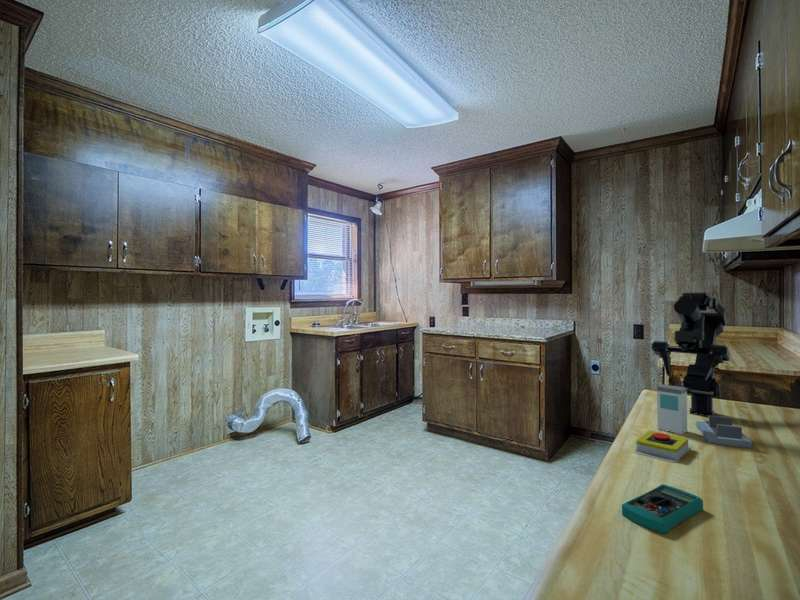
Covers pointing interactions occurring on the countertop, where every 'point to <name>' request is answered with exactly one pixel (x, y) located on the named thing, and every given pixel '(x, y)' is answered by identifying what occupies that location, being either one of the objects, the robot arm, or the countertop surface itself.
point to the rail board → (713, 439)
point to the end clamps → (725, 427)
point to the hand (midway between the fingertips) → (685, 377)
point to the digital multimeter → (662, 508)
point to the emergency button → (662, 446)
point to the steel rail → (716, 432)
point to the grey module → (672, 408)
